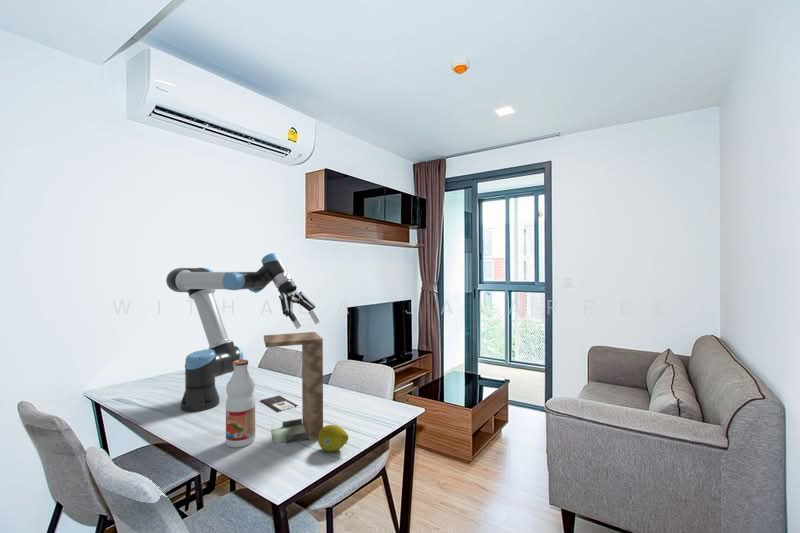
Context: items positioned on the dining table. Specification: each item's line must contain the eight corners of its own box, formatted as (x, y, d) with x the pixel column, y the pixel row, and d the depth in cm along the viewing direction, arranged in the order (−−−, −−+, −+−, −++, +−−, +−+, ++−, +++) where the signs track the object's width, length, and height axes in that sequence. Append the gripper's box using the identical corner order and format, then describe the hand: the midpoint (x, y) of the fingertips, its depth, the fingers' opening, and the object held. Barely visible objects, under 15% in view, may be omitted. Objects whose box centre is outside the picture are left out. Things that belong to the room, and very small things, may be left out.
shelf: (266, 447, 125) (265, 343, 125) (264, 428, 140) (263, 335, 140) (323, 437, 132) (322, 338, 133) (315, 420, 147) (315, 331, 147)
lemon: (311, 451, 122) (311, 426, 122) (328, 441, 129) (327, 418, 129) (337, 459, 117) (337, 434, 117) (353, 449, 123) (352, 425, 124)
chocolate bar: (279, 395, 176) (297, 405, 163) (279, 397, 176) (297, 407, 163) (260, 400, 170) (278, 410, 157) (260, 402, 170) (278, 413, 157)
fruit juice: (259, 442, 129) (259, 361, 129) (231, 451, 123) (231, 366, 123) (249, 433, 136) (248, 356, 136) (221, 441, 130) (221, 361, 130)
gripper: (271, 280, 152) (297, 324, 147) (307, 278, 175) (330, 316, 171) (259, 291, 154) (284, 334, 150) (296, 288, 178) (319, 325, 173)
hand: (309, 324), depth 160 cm, fingers open, 13 cm apart
